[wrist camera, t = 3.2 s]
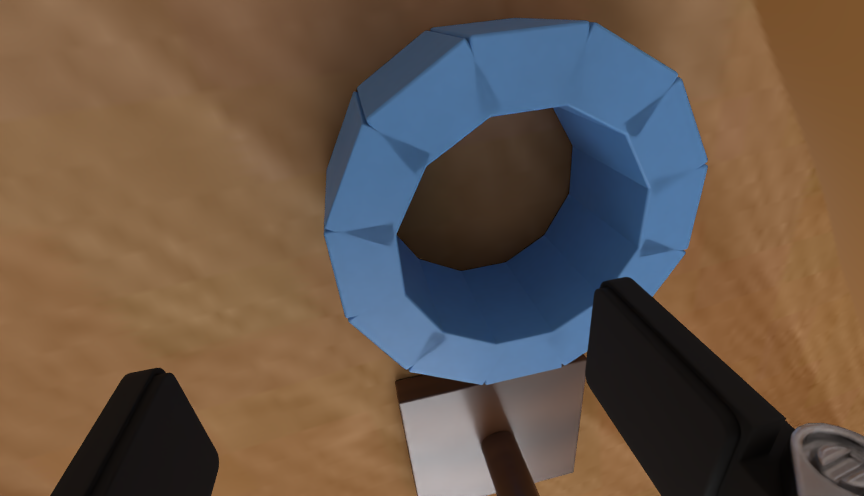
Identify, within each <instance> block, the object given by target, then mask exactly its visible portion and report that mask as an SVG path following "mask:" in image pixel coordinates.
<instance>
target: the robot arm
mask: <svg viewBox="0 0 864 496" xmlns="http://www.w3.org/2000/svg"><path fill="white" fill-rule="evenodd" d="M585 376H586V380H587V383H588V385H589V387H590V389H591V390H592V392H593V393H594V395H595V396H596V398H597V399H598V401H599V402H600V404H601V405H602V407H603V408H604V410H605V411H606V413H607V414H608V416H609V417H610V419H611V420H612V422H613V423H614V425H615V426H616V428H617V429H618V431H619V432H620V434H621V435H622V437H623V438H624V440H625V442H626V443H627V445H628V446H629V448H630V449H631V451H632V452H633V454H634V455H635V457H636V458H637V460H638V461H639V463H640V464H641V466H642V467H643V469H644V470H645V472H646V473H647V475H648V476H649V478H650V479H651V481H652V482H653V484H654V485H655V487H656V488H657V490H658V491H659V493H660V494H661V496H864V436H862V435H860V434H858V433H856V432H853V431H850V430H848V429H845V428H842V427H839V426H835V425H830V424H824V423H808V424H805V425H802V426H799V427H797V428H796V429H794V428H793V427H792V426H791V425H789V424H788V423H787V422H786V421H785V419H786V418H785V417H784V416H783V415H782V414H781V413H779V412H778V411H777V410H776V409H775V408H774V407H773V406H772V405H771V404H770V403H768V402H767V401H766V400H765V399H764V398H763V397H762V396H761V395H760V394H759V393H757V392H756V391H755V390H754V389H753V388H752V387H751V386H750V385H749V384H747V383H746V382H745V381H744V380H743V379H742V378H741V377H740V376H739V375H738V374H736V373H735V372H734V371H733V370H732V369H731V368H730V367H729V366H728V365H727V364H725V363H724V362H723V361H722V360H721V359H720V358H719V357H718V356H717V355H716V354H714V353H713V352H712V351H711V350H710V349H709V348H708V347H707V346H706V345H705V344H703V343H702V342H701V341H700V340H699V339H698V338H697V337H696V336H695V335H694V334H692V333H691V332H690V331H689V330H688V329H687V328H686V327H685V326H684V325H683V324H681V323H680V322H679V321H678V320H677V319H676V318H675V317H674V316H673V315H672V314H670V313H669V312H668V311H667V310H666V309H665V308H664V307H663V306H662V305H660V304H659V303H658V302H657V301H656V300H655V299H654V298H653V297H652V296H651V295H649V294H648V293H647V292H646V291H645V290H644V289H643V288H642V287H641V286H640V285H638V284H637V283H636V282H635V281H634V280H633V279H631V278H630V277H622V278H617V279H612V280H607V281H603V282H602V283H601V285H600V288H599V289H596V290H595V292H594V298H593V307H592V315H591V324H590V333H589V342H588V351H587V359H586V368H585ZM218 468H219V458H218V453H217V451H216V449H215V447H214V446H213V444H212V442H211V440H210V438H209V437H208V435H207V433H206V431H205V430H204V428H203V426H202V424H201V422H200V421H199V419H198V417H197V415H196V413H195V412H194V410H193V408H192V406H191V405H190V403H189V401H188V399H187V397H186V396H185V394H184V392H183V390H182V388H181V387H180V385H179V383H178V381H177V380H176V378H175V376H174V375H173V374H172V373H165V371H164V370H163V369H161V368H154V369H149V370H144V371H138V372H133V373H129V374H127V375H125V376H124V377H123V379H122V380H121V382H120V383H119V385H118V386H117V388H116V390H115V391H114V393H113V395H112V396H111V398H110V399H109V401H108V403H107V404H106V406H105V408H104V409H103V411H102V412H101V414H100V416H99V417H98V419H97V421H96V422H95V424H94V425H93V427H92V429H91V430H90V432H89V434H88V435H87V437H86V438H85V440H84V442H83V443H82V445H81V447H80V448H79V450H78V451H77V453H76V455H75V456H74V458H73V460H72V461H71V463H70V464H69V466H68V468H67V469H66V471H65V473H64V474H63V476H62V477H61V479H60V481H59V482H58V484H57V486H56V487H55V489H54V490H53V492H52V494H51V495H50V496H211V494H212V490H213V487H214V483H215V479H216V476H217V472H218Z"/></svg>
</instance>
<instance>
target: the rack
mask: <svg viewBox="0 0 864 496" xmlns="http://www.w3.org/2000/svg"><path fill="white" fill-rule="evenodd" d="M586 359H587V358H586V357H585V356H584V354H582V355H581V356H579V357H578V358H576V359H575V360H573V361H571V362H570V363H568V364H567V365H565V366H564V365H563V364H562V366H561V368H557V369H553V370H549V371H544V372H540V373H536V374H532V375H527V376H523V377H519V378H514V379H510V380H506V381H501V382H497V383H493V384H488V385H486V384H485V382H484V384H483V385H479V384H474V383H468V382H462V381H457V380H451V379H446V378H440V377H435V376H429V375H421V376H417V377H412V378H408V379H403V380H399V381H396V382H395V384H396V391H397V397H398V403H399V408H400V413H401V418H402V423H403V428H404V433H405V437H406V442H407V447H408V452H409V457H410V462H411V467H412V472H413V477H414V482H415V487H416V492H417V496H487V495H490V494H494V493H496V494H497V496H539V493H538V491H537V489H536V486H535V484H534V483H536V482H539V481H543V480H547V479H551V478H554V477H558V476H562V475H566V474H569V473H573V471H574V464H575V456H576V448H577V440H578V432H579V424H580V416H581V408H582V400H583V392H584V384H585V368H586Z"/></svg>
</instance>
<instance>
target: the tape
mask: <svg viewBox="0 0 864 496" xmlns="http://www.w3.org/2000/svg"><path fill="white" fill-rule="evenodd" d="M677 76H678V74H677V72H675V71H674V70H672V69H671V68H669V67H667V66H666V65H664V64H663V63H661V62H659V61H658V60H656V59H654V58H653V57H651V56H650V55H648V54H646V53H645V52H643V51H641V50H640V49H638V48H637V47H635V46H633V45H632V44H630V43H629V42H627V41H625V40H624V39H622V38H620V37H619V36H617V35H616V34H614V33H612V32H611V31H609V30H608V29H606V28H604V27H603V26H601V25H599V24H598V23H596V22H588V21H586V20H560V19H533V18H509V19H501V20H492V21H484V22H475V23H467V24H459V25H450V26H442V27H434V28H431V29H430V31H424V32H423V33H422V34H420V35H419V36H418V37H417V38H416V39H414V40H413V41H412V42H411V43H410V44H408V45H407V46H406V47H405V48H404V49H402V50H401V51H400V52H399V53H398V54H396V55H395V56H394V57H393V58H392V59H390V60H389V61H388V62H387V63H386V64H384V65H383V66H382V67H381V68H380V69H378V70H377V71H376V72H375V73H374V74H372V75H371V76H370V77H369V78H368V79H366V80H365V81H364V82H363V83H362V84H360V85H359V86H358V87H357V91H358V92H353V95H352V98H351V101H350V103H349V106H348V109H347V112H346V115H345V118H344V121H343V124H342V127H341V130H340V133H339V135H338V138H337V141H336V144H335V147H334V150H333V153H332V156H331V159H330V162H329V164H328V167H327V174H326V196H325V218H324V237H325V240H326V244H327V248H328V252H329V256H330V260H331V264H332V268H333V271H334V275H335V279H336V283H337V287H338V291H339V295H340V299H341V303H342V306H343V310H344V314H345V317H346V318H348V321H349V322H350V323H351V324H352V325H353V326H354V327H356V328H357V329H358V330H359V331H360V332H361V333H363V334H364V335H365V336H366V337H367V338H369V339H370V340H371V341H372V342H373V343H375V344H376V345H377V346H378V347H379V348H380V349H382V350H383V351H384V352H385V353H386V354H388V355H389V356H390V357H391V358H392V359H393V360H395V361H396V362H397V363H398V364H399V365H401V366H402V367H403V368H404V369H406V370H407V369H409V372H413V373H418V374H424V375H429V376H435V377H440V378H446V379H451V380H457V381H462V382H468V383H474V384H479V385H483V384H484V382H485V384H486V385H488V384H493V383H497V382H501V381H506V380H510V379H514V378H519V377H523V376H527V375H532V374H536V373H540V372H544V371H549V370H553V369H557V368H561V366H562V364H563V365H564V366H565V365H567V364H568V363H570V362H571V361H573V360H575V359H576V358H578V357H579V356H581V355H582V354H584V353H585V352H587V351H588V342H589V333H590V324H591V315H592V307H593V298H594V292H595V290H596V289H599V288H600V285H601V283H602V282H603V281H607V280H612V279H617V278H622V277H630V278H631V279H633V280H634V281H635V282H636V283H637V284H638V285H640V286H641V287H642V288H643V289H644V290H645V291H646V292H647V293H648V294H649V295H651V296H652V297H653V295H654V294H655V293H656V291H657V290H658V289H659V288H660V286H661V285H662V284H663V282H664V281H665V280H666V278H667V277H668V276H669V274H670V273H671V272H672V270H673V269H674V268H675V266H676V265H677V264H678V263H679V261H680V260H681V259H682V257H683V256H684V255H685V253H686V252H685V251H684V249H687V248H688V245H689V241H690V237H691V233H692V229H693V225H694V221H695V217H696V213H697V209H698V205H699V201H700V197H701V193H702V189H703V185H704V180H705V176H706V172H707V168H708V166H707V165H706V164H705V163H706V162H707V160H708V159H707V156H706V153H705V150H704V147H703V144H702V141H701V137H700V134H699V131H698V128H697V125H696V122H695V119H694V116H693V112H692V109H691V106H690V103H689V100H688V97H687V94H686V91H685V88H684V84H683V81H682V79H681V78H680V77H677ZM547 108H553V109H554V111H555V113H556V115H557V117H558V119H559V121H560V123H561V124H562V126H563V128H564V130H565V132H566V134H567V136H568V138H569V140H570V142H571V144H572V146H573V150H572V163H571V176H570V190H569V195H568V196H567V198H566V200H565V201H564V203H563V205H562V206H561V208H560V210H559V211H558V213H557V215H556V216H555V218H554V220H553V221H552V223H551V225H550V226H549V228H548V230H547V231H546V233H545V235H544V236H542V237H541V238H540V239H538V240H537V241H535V242H534V243H532V244H531V245H530V246H528V247H527V248H525V249H524V250H523V251H521V252H520V253H518V254H517V255H516V256H514V257H513V258H511V259H510V260H508V261H507V262H505V263H500V264H495V265H490V266H485V267H480V268H474V269H469V270H464V271H458V270H455V269H452V268H448V267H445V266H441V265H438V264H434V263H431V262H427V261H424V260H420V259H418V258H417V257H416V256H415V254H414V253H413V252H412V251H411V250H410V249H409V248H408V247H407V246H406V245H405V244H404V242H403V241H402V240H401V239H400V238H399V237H398V236H397V235H396V234H397V232H398V230H399V227H400V225H401V223H402V221H403V218H404V216H405V214H406V211H407V209H408V207H409V205H410V202H411V200H412V198H413V196H414V193H415V191H416V189H417V187H418V184H419V182H420V180H421V177H422V175H423V173H424V171H425V168H426V166H428V165H429V164H430V163H432V162H433V161H434V160H435V159H437V158H438V157H439V156H441V155H442V154H443V153H444V152H446V151H447V150H448V149H450V148H451V147H452V146H454V145H455V144H456V143H457V142H459V141H460V140H461V139H463V138H464V137H465V136H466V135H468V134H469V133H470V132H472V131H473V130H474V129H476V128H477V127H478V126H479V125H481V124H482V123H483V122H485V121H486V120H487V119H488V118H490V117H494V116H500V115H507V114H514V113H521V112H527V111H534V110H541V109H547Z"/></svg>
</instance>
